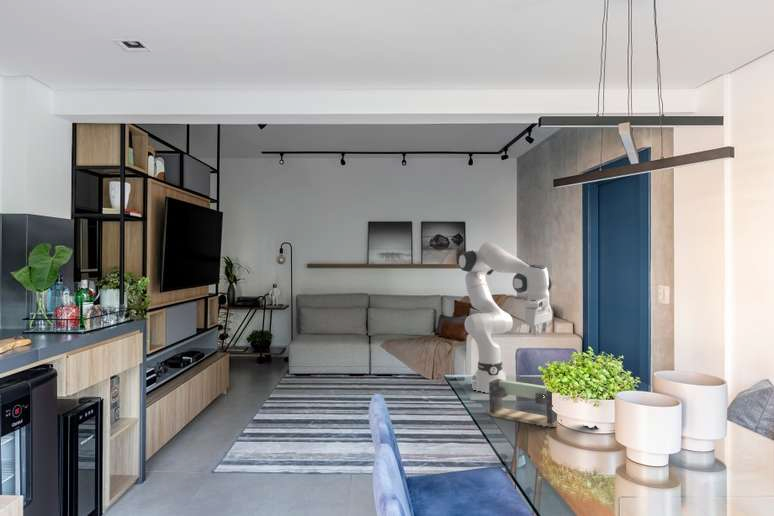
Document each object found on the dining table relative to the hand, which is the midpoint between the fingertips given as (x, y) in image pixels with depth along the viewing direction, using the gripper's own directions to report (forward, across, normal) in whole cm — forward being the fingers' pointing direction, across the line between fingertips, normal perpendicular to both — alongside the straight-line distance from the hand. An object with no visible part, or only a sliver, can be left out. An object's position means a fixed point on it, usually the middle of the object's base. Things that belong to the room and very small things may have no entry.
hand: (539, 333), depth 217 cm
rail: (+24, +16, -1) cm, 28 cm away
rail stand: (+33, +16, -2) cm, 37 cm away
